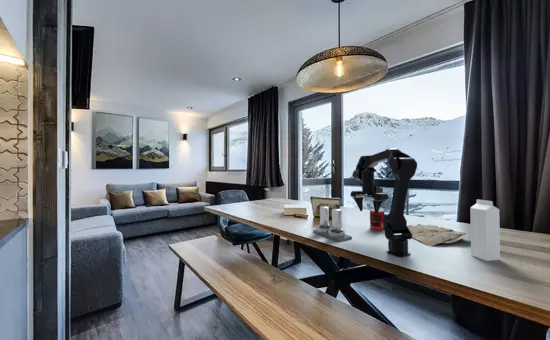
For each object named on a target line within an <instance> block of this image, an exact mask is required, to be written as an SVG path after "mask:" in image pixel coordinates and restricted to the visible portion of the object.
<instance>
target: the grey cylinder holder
mask: <svg viewBox="0 0 550 340" xmlns="http://www.w3.org/2000/svg"><path fill="white" fill-rule="evenodd" d="M329 212H330V211H329V206H323V205H321V206H319V218H320V219H319V220H320V221H319V225H318V226H316V229H313V230H312V231H313V232H312V233H314V234H316V235H319V236H321V237H324V238H327V239H329V240H332V241H334V242H337V243H340V242H344V241H349V240H352V239H353V236H351V235H348V234H346V230H344V229H342V233H333V232H332V225H330V217H329V216H330V215H329Z"/></svg>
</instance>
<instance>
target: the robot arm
mask: <svg viewBox="0 0 550 340" xmlns="http://www.w3.org/2000/svg"><path fill="white" fill-rule="evenodd" d="M386 161H387V164H388V166H390V168H391V174H392V176H393V178H394V182H393V183H394V185H393V189H392V190H393V191H392V196H391V203H390V204H391V205H390V211H389V213H385V215H384V220H383V223H384V224H383V229H384V230H383V234H384V237H385V238H386V239H387V240H388V241H387V242H388V243H387V245H388V246H387V247H388V250H387V251H386V253H388V254H390V255H393V256H396V257H399V258H403V257H407V256H410V255H411V254H412V253H411V252H409V240H412V238H413V237H412V234H411V232H410V230H409V229H408V227H407V226H408V224H407V222H408V221H407V219H406V217H405V208H406V202H407V196H408V190H409V184H410V181H411V179H412V178H414V176H415V175H416V171H417V169H418V162H417V161H416V159H415V158H413V157H412V156H410V155H409V154H407V153H405V152H403V151H401V149H399V148H386V149H385V150H382V151H380V152H376V153H375V154H371V155H370V154H369V155H361V156H360V158H359V159H358V162H357V164H356V165H355V169H354V170H353V172H352V174H351V175H352V178H353V179H354V180H355V181H361V182H360V183H359V184H360V186H361V190H352V191H351V192H350V197H352V199H353V200H354V202H355V204H356V206H357V208H358V209H359V211H360V212H362V211H363V209H364V205H363V204H364V199H365V197H367V198H372V199H373V200H372V204H373V205H372V206H373V209H374V211H375V214H378V211H379V209H381V206H382V204H383V202H386V201H388V200H389V195H388V193H386V192H385V193H384V192H383V191H384V188H382V187H380V186H378V185H377V183H376V182H375V173H376V172H377V169H376V168H375V167H376V166H378V165H379V164H380V163H383V162H386Z"/></svg>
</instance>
